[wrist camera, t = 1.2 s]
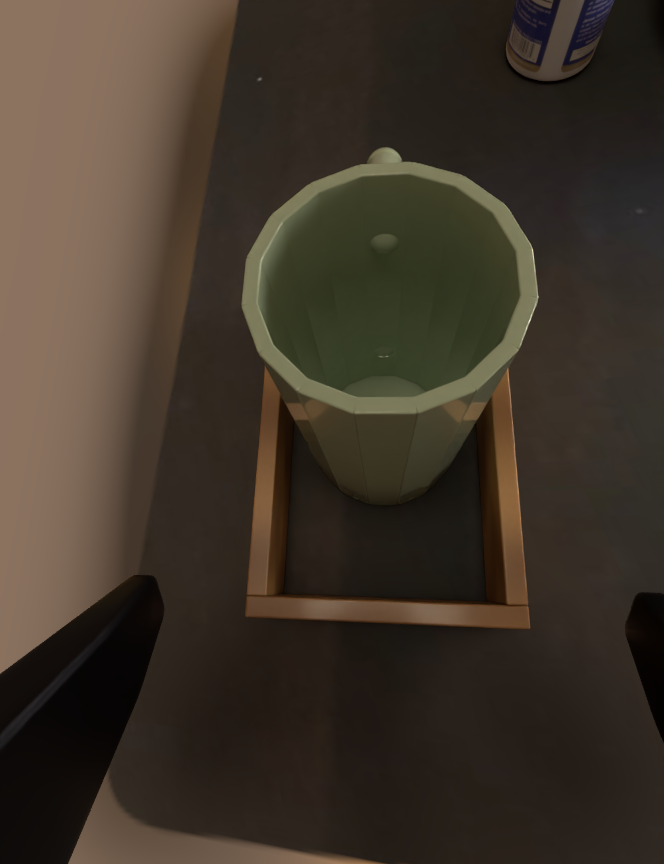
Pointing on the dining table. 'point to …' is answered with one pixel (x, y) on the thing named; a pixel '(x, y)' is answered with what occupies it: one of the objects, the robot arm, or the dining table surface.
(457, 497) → the dining table surface
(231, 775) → the dining table surface
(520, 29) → the pill bottle
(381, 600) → the brown wooden rectangular frame
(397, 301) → the green faceted mug
